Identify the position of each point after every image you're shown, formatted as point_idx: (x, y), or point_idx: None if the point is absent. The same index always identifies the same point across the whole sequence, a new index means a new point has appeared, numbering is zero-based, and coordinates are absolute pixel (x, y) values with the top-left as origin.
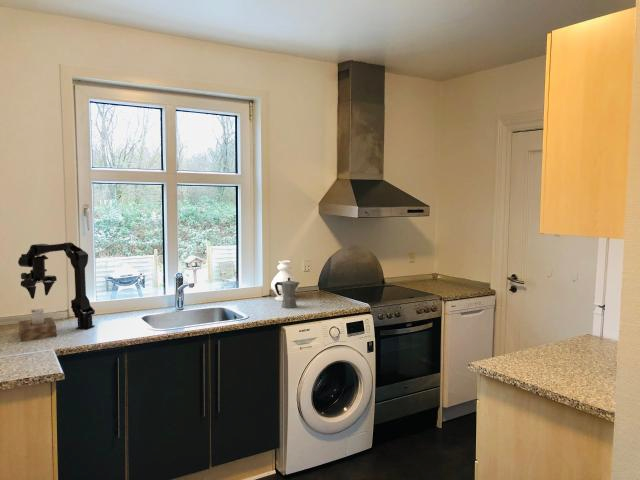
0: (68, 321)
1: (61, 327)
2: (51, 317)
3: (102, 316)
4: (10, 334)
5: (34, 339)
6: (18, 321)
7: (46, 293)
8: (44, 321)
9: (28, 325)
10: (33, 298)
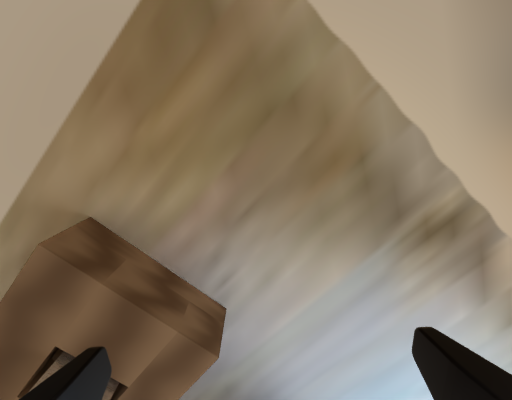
0: (358, 289)
1: (243, 343)
2: (211, 360)
3: None
4: (37, 215)
5: None
6: (34, 251)
7: (435, 383)
8: (128, 383)
9: (8, 385)
10: (100, 379)
